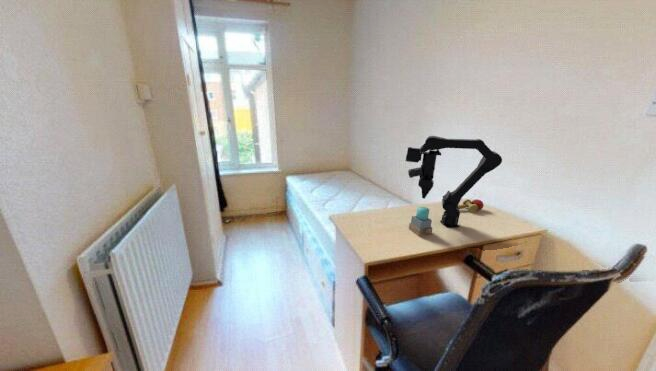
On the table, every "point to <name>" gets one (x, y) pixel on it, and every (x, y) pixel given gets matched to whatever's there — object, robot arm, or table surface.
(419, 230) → the lower block
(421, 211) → the teal rounded dome
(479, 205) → the kendama
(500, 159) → the robot arm
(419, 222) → the upper block
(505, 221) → the table surface
